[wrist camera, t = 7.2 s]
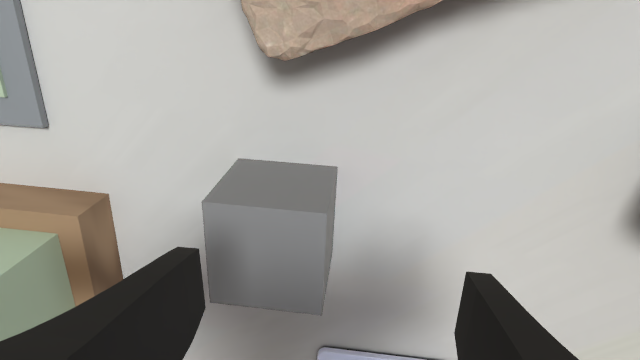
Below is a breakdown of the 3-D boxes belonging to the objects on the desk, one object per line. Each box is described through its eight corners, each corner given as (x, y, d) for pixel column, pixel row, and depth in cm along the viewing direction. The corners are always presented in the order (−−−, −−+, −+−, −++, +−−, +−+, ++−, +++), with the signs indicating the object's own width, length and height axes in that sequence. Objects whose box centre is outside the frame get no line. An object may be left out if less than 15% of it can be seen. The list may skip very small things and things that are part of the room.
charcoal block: (332, 251, 23) (321, 315, 18) (242, 242, 23) (209, 302, 19) (337, 166, 21) (327, 213, 16) (239, 158, 21) (201, 201, 17)
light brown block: (132, 305, 26) (103, 340, 24) (15, 290, 27) (-26, 323, 24) (112, 190, 23) (77, 216, 21) (-20, 177, 24) (-71, 200, 21)
